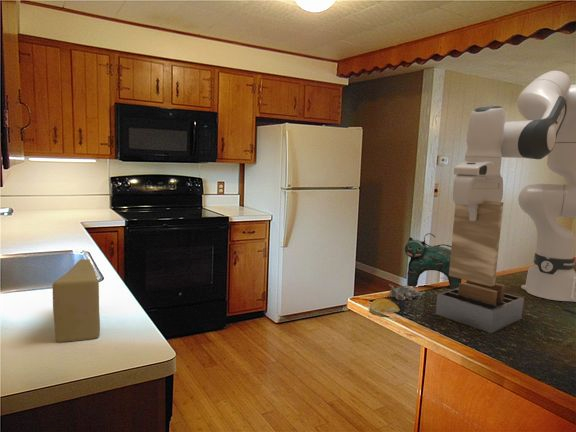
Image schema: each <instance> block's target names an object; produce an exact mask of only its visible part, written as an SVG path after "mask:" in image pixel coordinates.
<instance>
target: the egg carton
mask: <svg viewBox="0 0 576 432" xmlns="http://www.w3.org/2000/svg"><path fill="white" fill-rule="evenodd" d="M388 286H389V287H391V289H390V290H389V296H390V297H391V298H395V300H396V299H397V300H396V301H404V300H409V301H412V300H413V299H417V300H421V299H422V295H423V294H424V292H421V291H418V289H415V288H413V287H412V286H407V285H405V286H400V287H399V286H396V288H395V286H394V285H392V284H388Z"/></svg>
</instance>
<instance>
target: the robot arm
mask: <svg viewBox="0 0 576 432" xmlns="http://www.w3.org/2000/svg"><path fill="white" fill-rule="evenodd" d="M517 109H518V112H519V113H520V115H521V116H522V117H523V118H524V119H526V120H515V121H513V120H512V121H507V119H505V115H506V114H505V109H504V107H503V106H501V105H491V106H481V107H477V108H475V109H473V110H472V112H471V114H470V118H469V121H468V124H467V125H468V127H467V132H466V146H467V148H466V152H465V155H464V160H463V161H461V162H460V163H459V164H457V165H455V166H454V169H453V173H454V174H453V175H455V177H454V179H453V187H452V189H453V190H452V201H453V202H454V205H455V204H462V205H468V211H469V214H470V215H469V220H470V221H478V217H479V214H477V208H478V204H483V202H484V201H495V202H502V201H503V195H504V194H503V193H504V180H503V176H502V175H501V167H502V159H503V158H510V159H511V158H515V159H516V158H519V159H521V158H522V159H530V160H531V159H532V160H542V159H543V158H545V157H546V156H547V160H546V164H547V167H548V169H549V170H551V172H554V173H555V174H557V175H558V176H559V175H560V176H562V177H563V178H564V179H565V184H564V183H563V184H555V183H538V184H537V183H536V184H535V183H534V184H527V185H525V186H524V187H523V188H522V189H521V191H520V192H519V194H518V197H517V198H518V199H517V201H518V204H519V207H520V209H521V210H522V211H523V212H524V213H526V214H527V215H528V217H530V219H531V220H532V221H533V223H534V225H535V228H536V234H537V235H536V236H537V238H536V239H537V240H536V252H535V253H534V256H533V265H531V266H530V267H528V270H527V274H526V280H525V284H521V287H520V288H521V289H522V290H525V292H527V293H528V294H529V295H532V296H535V297H538V298H543V299H546V300H551V301H559V302H560V301H561V302H575V303H576V270H575V269H574V268H575V266H576V256H575V249H576V236H575V233H574V232H573V231H572V230H570V229H569V228H567V227H565V226H563V225H561V224H559V223H558V221H557V218H559V217H561V218H574V219H576V84H572V81H571V78H570V77H569V75H568V73H565V72H563V71H561V70H550V71H547V72H545V73H543V74H541V75H540V76H538V77H536V78H535V79H533V81H531V82H530V83H529V84H528V85H526V87H525V88H523V90H522V91H521V92H520V93H519V95H518V99H517Z"/></svg>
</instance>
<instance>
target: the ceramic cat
mask: <svg viewBox="0 0 576 432" xmlns="http://www.w3.org/2000/svg"><path fill="white" fill-rule="evenodd" d="M428 235H431V236H432V237H434V238H436V236H435V235H434V234H433V233H429V232H428V233H426V234H425V235H424V236H423V241H421V240H420V239H413V238H412V236H411V237H409V238H408V241H407V243H406V245H405V247H404V253H405V255H406V256H408V257H409V258H410V260H409V262H408V264H407V265H408V267H407V269H408V270H407V273H406V275H407V277H406V279H407V280H406V283H407V284H406V286H410V287H411V288H415V287H417V286H418V282H419V278H420V276H421V275H422V274H423V273H424V272H426V271H435V272H439V273H442V274H443V275H445V276H446V278H447V280H448V283H449V285H448V286H449V287H448V288H449V289H450V290H452V289H455V288H458V287H459V283H462V280H463V279H460V278H456V277H452V276H449V268H450V257H451V246H452V245H449V244H443V243H441V244H435V245H429V244H428V243H426V236H428ZM443 246H446V247H443ZM448 247H449V248H448Z"/></svg>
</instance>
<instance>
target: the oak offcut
mask: <svg viewBox="0 0 576 432" xmlns="http://www.w3.org/2000/svg"><path fill="white" fill-rule="evenodd" d="M458 294H459V295H463V296H466V297H470V298H473V299H477V300H480V301H484V302H487V303H490V304H494V305H496V299H497V291H494V290H491V289H487V288H483V287H479V286H475V285H472V284H468V283H467V282H464V281H461V283H459V290H458Z"/></svg>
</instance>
